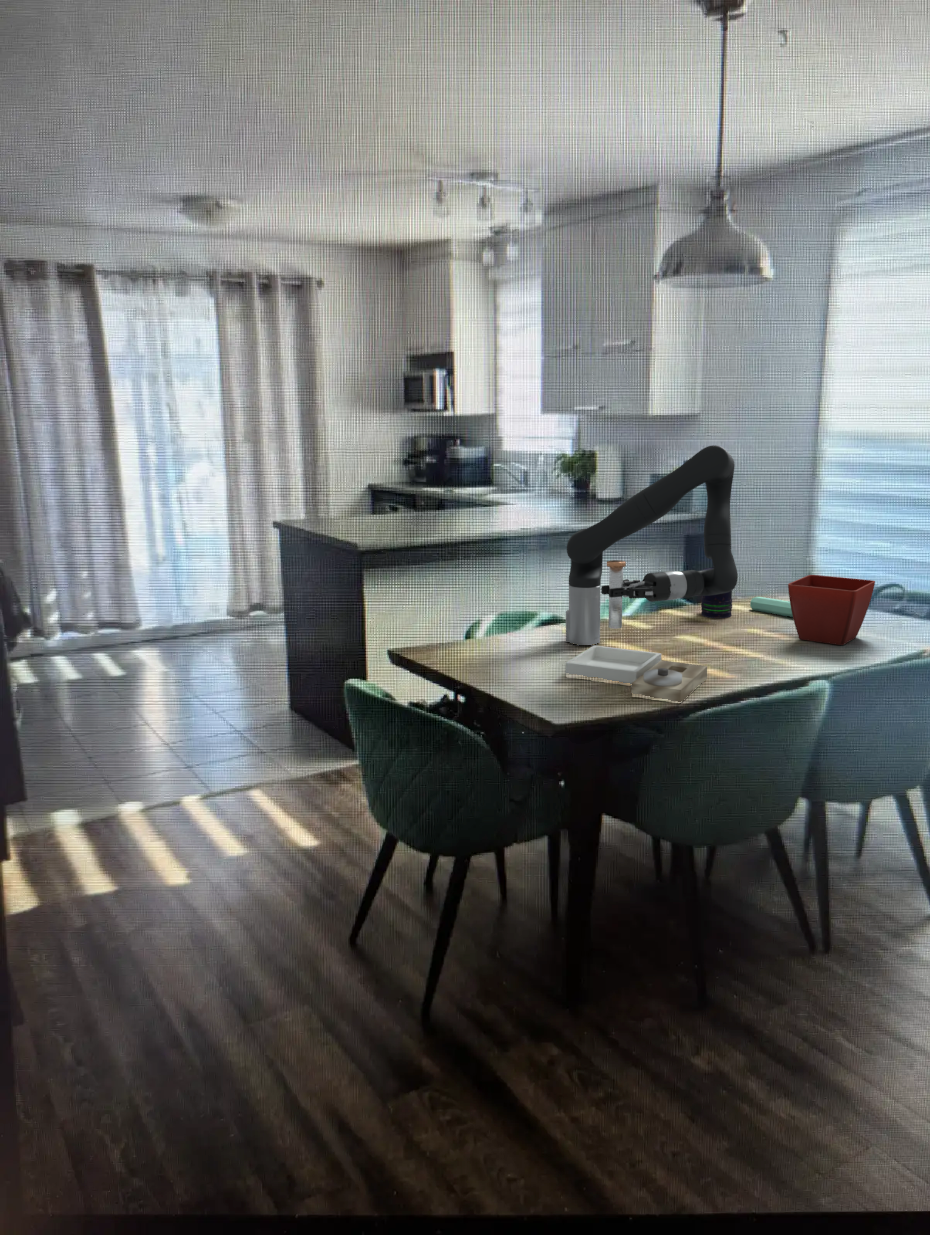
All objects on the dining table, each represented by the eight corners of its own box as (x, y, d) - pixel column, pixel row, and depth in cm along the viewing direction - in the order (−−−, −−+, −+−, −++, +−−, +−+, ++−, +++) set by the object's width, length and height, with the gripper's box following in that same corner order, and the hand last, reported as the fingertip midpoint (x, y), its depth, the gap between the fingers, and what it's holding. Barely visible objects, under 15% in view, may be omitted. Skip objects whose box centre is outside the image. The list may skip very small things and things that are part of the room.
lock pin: (602, 628, 235) (603, 562, 231) (609, 623, 239) (610, 559, 235) (620, 629, 233) (621, 564, 229) (627, 625, 237) (628, 561, 233)
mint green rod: (749, 592, 304) (817, 602, 285) (759, 596, 308) (827, 607, 289) (745, 609, 304) (812, 621, 285) (754, 613, 308) (822, 625, 288)
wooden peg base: (631, 697, 219) (631, 671, 218) (660, 673, 237) (661, 649, 236) (680, 704, 213) (681, 678, 212) (706, 679, 231) (707, 655, 230)
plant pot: (806, 627, 281) (810, 573, 277) (871, 636, 269) (876, 580, 265) (783, 640, 266) (786, 583, 263) (851, 650, 255) (855, 591, 251)
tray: (565, 677, 235) (565, 662, 234) (593, 659, 251) (594, 645, 250) (636, 687, 226) (636, 672, 225) (660, 668, 242) (661, 653, 241)
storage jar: (694, 613, 303) (696, 568, 299) (720, 610, 305) (722, 566, 302) (711, 619, 293) (713, 573, 290) (738, 616, 296) (740, 571, 293)
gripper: (650, 567, 244) (592, 572, 238) (680, 576, 231) (619, 582, 225) (650, 594, 245) (592, 600, 240) (679, 605, 233) (618, 611, 227)
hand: (605, 591), depth 233 cm, fingers closed on lock pin, 3 cm apart
